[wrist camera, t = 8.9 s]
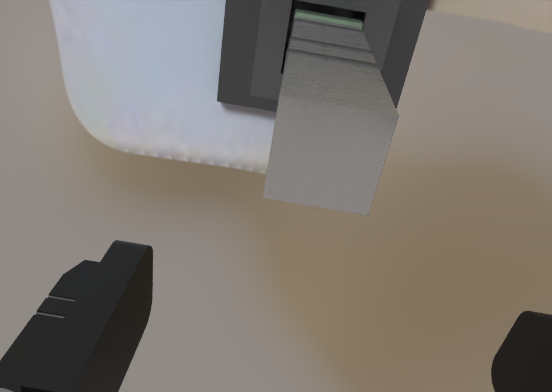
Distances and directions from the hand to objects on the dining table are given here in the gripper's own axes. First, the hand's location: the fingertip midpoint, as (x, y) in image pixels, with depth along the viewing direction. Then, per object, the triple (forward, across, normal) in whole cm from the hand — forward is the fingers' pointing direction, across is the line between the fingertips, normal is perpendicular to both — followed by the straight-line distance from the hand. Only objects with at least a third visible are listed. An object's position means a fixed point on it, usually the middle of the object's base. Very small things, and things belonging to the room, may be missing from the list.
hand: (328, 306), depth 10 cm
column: (+25, 0, 0) cm, 25 cm away
